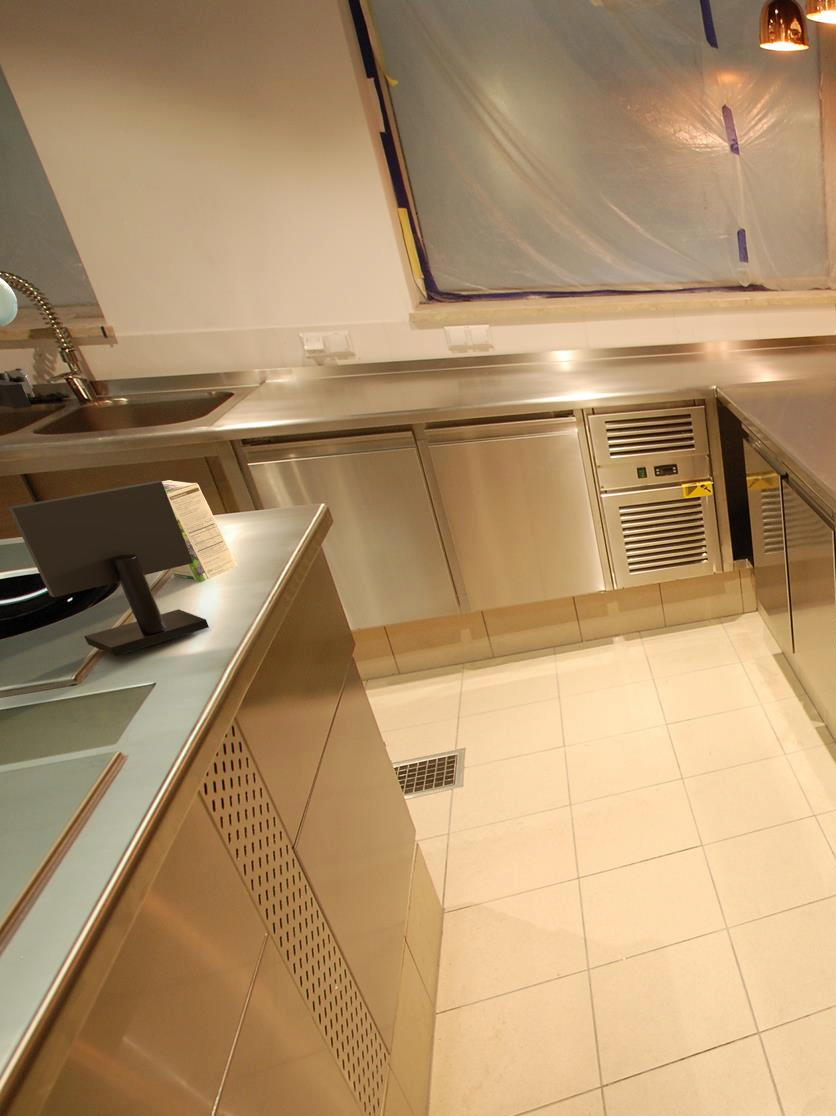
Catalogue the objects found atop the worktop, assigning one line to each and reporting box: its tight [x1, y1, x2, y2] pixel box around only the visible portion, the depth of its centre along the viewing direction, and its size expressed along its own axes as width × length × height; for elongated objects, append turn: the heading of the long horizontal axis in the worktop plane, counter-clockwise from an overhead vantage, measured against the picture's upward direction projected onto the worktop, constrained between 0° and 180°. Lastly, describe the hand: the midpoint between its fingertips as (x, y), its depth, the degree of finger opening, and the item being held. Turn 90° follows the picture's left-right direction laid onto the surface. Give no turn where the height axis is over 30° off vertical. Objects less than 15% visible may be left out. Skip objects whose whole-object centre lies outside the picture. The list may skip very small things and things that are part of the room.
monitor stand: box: [83, 554, 210, 657], centre depth 107 cm, size 10×7×11 cm
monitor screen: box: [8, 480, 193, 598], centre depth 104 cm, size 14×1×11 cm, turn 153°
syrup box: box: [161, 479, 238, 583], centre depth 124 cm, size 6×6×14 cm
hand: (18, 396), depth 100 cm, fingers closed
